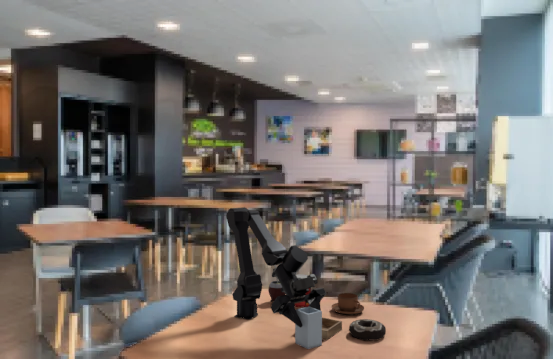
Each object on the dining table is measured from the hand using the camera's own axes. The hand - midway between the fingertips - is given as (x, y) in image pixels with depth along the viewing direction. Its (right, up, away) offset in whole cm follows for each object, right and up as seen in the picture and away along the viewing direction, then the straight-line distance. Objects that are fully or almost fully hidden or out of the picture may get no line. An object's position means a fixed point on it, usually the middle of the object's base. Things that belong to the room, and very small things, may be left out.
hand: (311, 324), depth 150 cm
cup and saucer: (+16, -6, +34) cm, 38 cm away
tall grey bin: (-1, -7, +1) cm, 7 cm away
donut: (+19, -7, +10) cm, 22 cm away
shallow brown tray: (+3, -6, +13) cm, 14 cm away
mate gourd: (-11, -5, +46) cm, 47 cm away
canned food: (-1, -5, +42) cm, 43 cm away
